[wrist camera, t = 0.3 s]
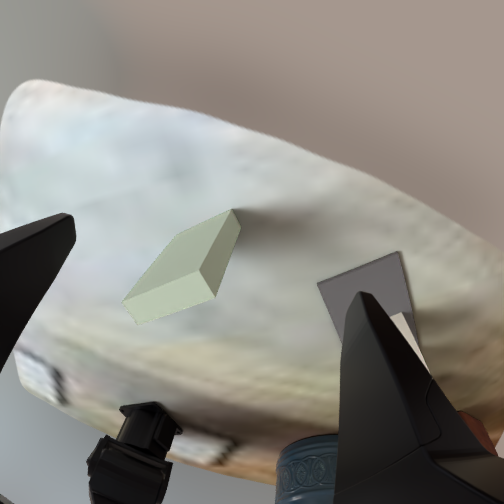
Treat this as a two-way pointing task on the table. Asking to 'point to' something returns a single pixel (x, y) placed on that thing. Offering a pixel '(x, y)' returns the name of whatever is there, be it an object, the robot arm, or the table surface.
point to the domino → (185, 270)
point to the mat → (369, 291)
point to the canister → (307, 471)
